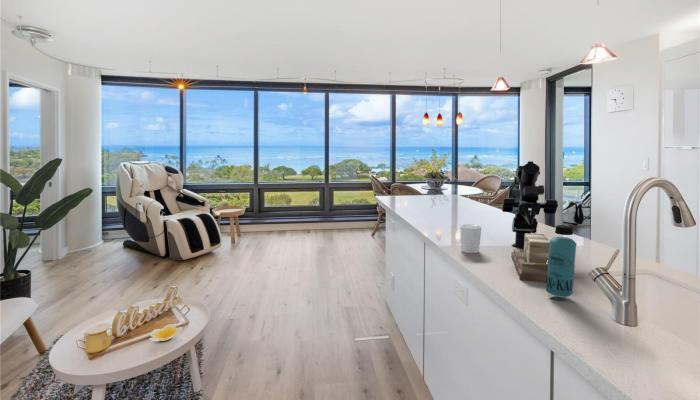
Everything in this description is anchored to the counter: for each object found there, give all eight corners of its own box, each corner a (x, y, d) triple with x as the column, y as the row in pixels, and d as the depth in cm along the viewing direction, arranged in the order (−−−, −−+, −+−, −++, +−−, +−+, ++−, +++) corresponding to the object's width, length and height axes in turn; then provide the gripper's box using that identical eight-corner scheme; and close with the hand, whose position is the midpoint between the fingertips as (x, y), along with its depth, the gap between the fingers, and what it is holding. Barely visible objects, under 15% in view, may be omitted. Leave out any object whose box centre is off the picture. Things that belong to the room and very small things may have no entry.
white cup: (481, 254, 145) (482, 228, 143) (460, 253, 146) (461, 228, 145) (478, 249, 152) (480, 224, 151) (458, 248, 154) (459, 224, 153)
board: (511, 256, 141) (512, 243, 140) (546, 259, 137) (547, 245, 137) (520, 279, 116) (520, 263, 116) (563, 283, 113) (564, 266, 112)
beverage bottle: (546, 291, 107) (551, 222, 104) (573, 296, 103) (579, 224, 100) (543, 299, 101) (548, 226, 99) (571, 304, 98) (577, 229, 95)
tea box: (523, 258, 132) (524, 233, 131) (542, 259, 131) (543, 234, 129) (528, 269, 120) (530, 241, 119) (549, 271, 118) (551, 243, 117)
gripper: (504, 177, 144) (505, 210, 135) (558, 178, 139) (563, 212, 130) (501, 195, 153) (502, 227, 144) (552, 196, 147) (557, 230, 138)
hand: (530, 224), depth 139 cm, fingers closed
